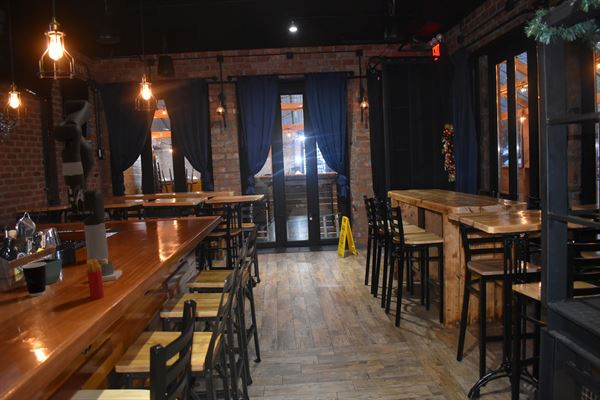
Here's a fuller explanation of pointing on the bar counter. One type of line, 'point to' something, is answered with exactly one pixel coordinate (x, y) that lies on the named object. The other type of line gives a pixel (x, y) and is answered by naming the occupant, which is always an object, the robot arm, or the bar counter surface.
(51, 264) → the flower pot
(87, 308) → the bar counter surface
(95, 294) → the french fries
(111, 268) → the ring
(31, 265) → the dixie cup
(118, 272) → the stand
